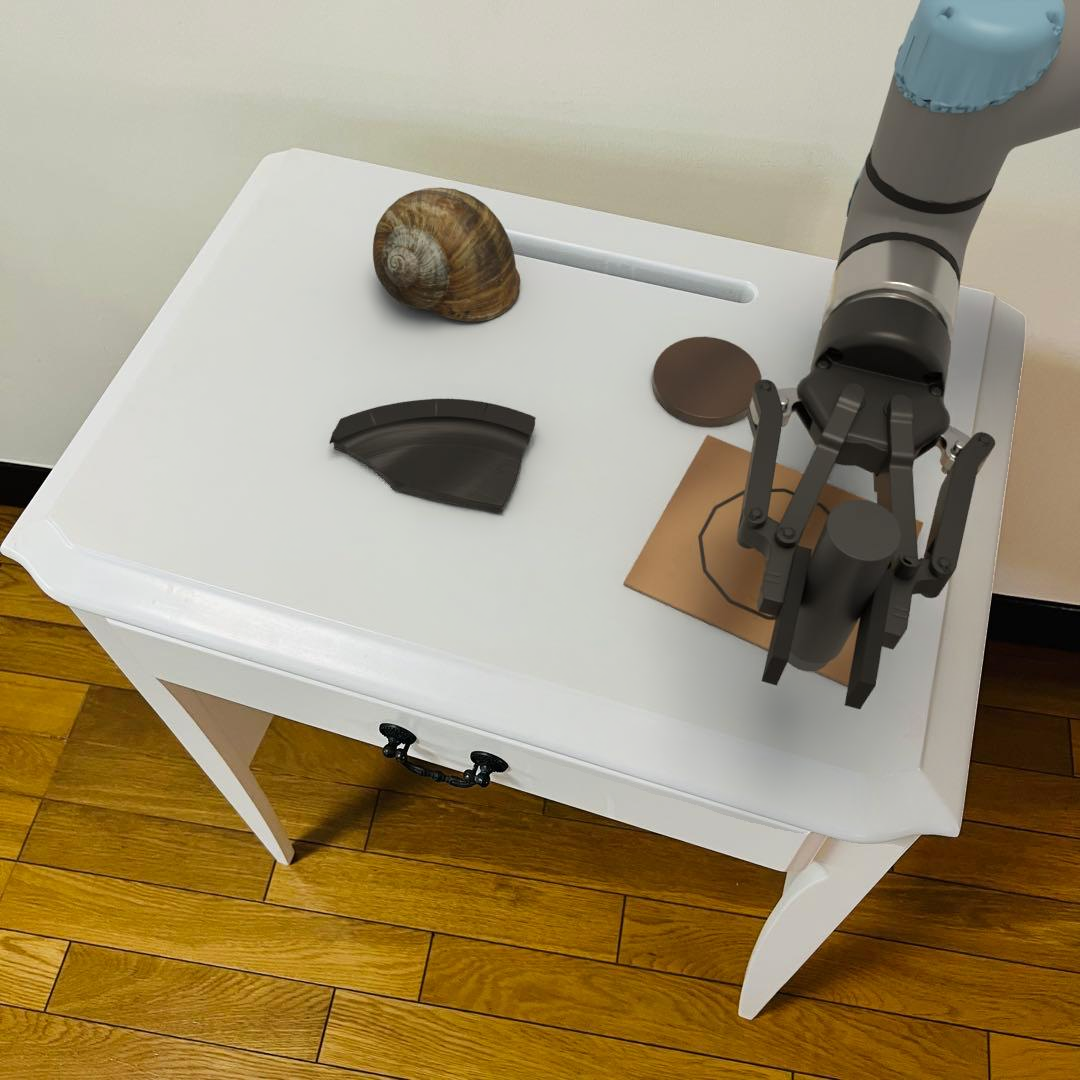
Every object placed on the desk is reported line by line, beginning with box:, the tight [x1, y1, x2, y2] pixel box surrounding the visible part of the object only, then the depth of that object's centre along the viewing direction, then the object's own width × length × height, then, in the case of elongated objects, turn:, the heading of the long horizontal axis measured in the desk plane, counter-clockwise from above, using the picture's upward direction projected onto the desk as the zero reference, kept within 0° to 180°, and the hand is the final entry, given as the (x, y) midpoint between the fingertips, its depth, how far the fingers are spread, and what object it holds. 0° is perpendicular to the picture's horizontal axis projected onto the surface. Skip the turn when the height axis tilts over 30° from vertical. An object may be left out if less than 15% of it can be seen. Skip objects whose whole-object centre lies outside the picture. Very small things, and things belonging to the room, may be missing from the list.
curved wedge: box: [329, 398, 537, 514], centre depth 74 cm, size 8×14×2 cm, turn 73°
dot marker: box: [787, 499, 901, 672], centre depth 53 cm, size 3×3×12 cm
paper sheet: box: [623, 434, 924, 687], centre depth 70 cm, size 16×14×1 cm
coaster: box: [651, 336, 763, 428], centre depth 77 cm, size 8×8×1 cm
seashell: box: [372, 187, 521, 322], centre depth 80 cm, size 11×9×8 cm
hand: (817, 682), depth 50 cm, fingers closed on dot marker, 3 cm apart
